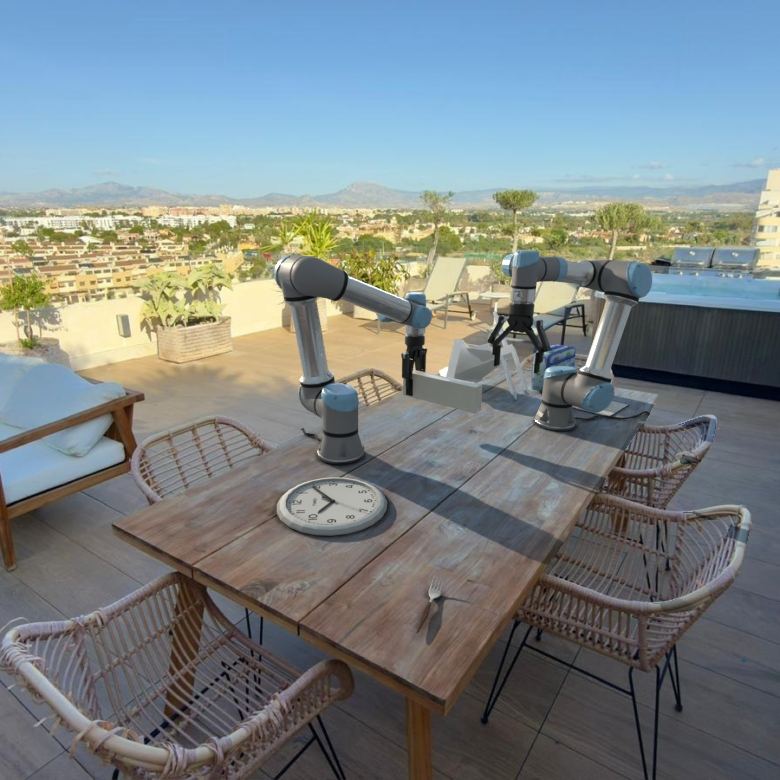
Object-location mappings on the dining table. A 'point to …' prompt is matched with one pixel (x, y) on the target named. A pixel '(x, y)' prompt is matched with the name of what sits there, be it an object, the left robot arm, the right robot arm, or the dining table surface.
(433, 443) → the dining table surface
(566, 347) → the lunch box
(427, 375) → the bar
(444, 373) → the white plastic object
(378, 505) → the wall clock
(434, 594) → the fork
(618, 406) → the invitation card
